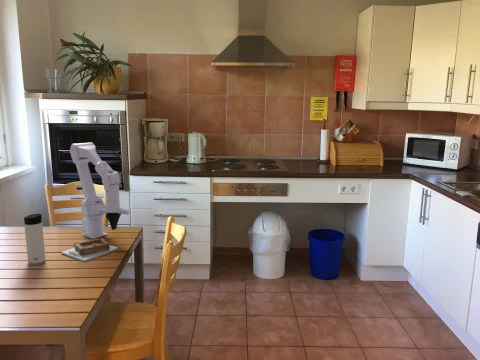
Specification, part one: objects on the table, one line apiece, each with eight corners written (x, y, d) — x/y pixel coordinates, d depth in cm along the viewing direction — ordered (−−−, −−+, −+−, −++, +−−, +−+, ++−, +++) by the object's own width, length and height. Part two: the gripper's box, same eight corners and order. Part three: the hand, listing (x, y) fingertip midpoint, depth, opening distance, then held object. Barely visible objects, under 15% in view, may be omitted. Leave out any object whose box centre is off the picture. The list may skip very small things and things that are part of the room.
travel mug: (39, 266, 162) (35, 217, 158) (24, 265, 163) (19, 216, 159) (49, 260, 168) (45, 212, 164) (35, 259, 169) (30, 211, 165)
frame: (74, 248, 178) (74, 240, 177) (102, 242, 185) (102, 235, 184) (80, 255, 171) (80, 247, 170) (109, 249, 178) (109, 241, 177)
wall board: (61, 253, 175) (61, 249, 174) (95, 242, 189) (95, 238, 188) (84, 262, 167) (83, 257, 166) (117, 249, 181) (117, 244, 180)
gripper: (132, 198, 185) (133, 227, 188) (102, 196, 188) (103, 225, 191) (124, 202, 178) (126, 232, 181) (93, 200, 181) (95, 229, 184)
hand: (114, 229), depth 186 cm, fingers closed
